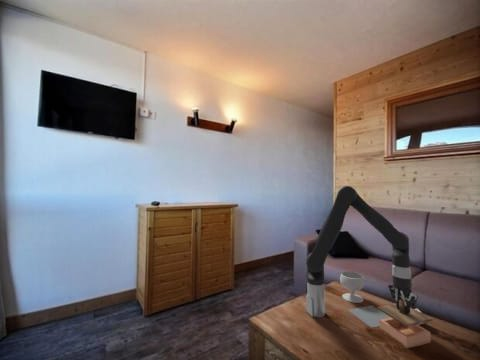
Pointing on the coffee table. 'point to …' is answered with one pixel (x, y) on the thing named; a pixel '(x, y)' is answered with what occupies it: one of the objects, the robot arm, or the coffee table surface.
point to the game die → (422, 313)
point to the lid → (403, 318)
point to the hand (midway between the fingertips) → (403, 311)
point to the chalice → (352, 285)
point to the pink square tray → (405, 332)
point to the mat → (369, 315)
